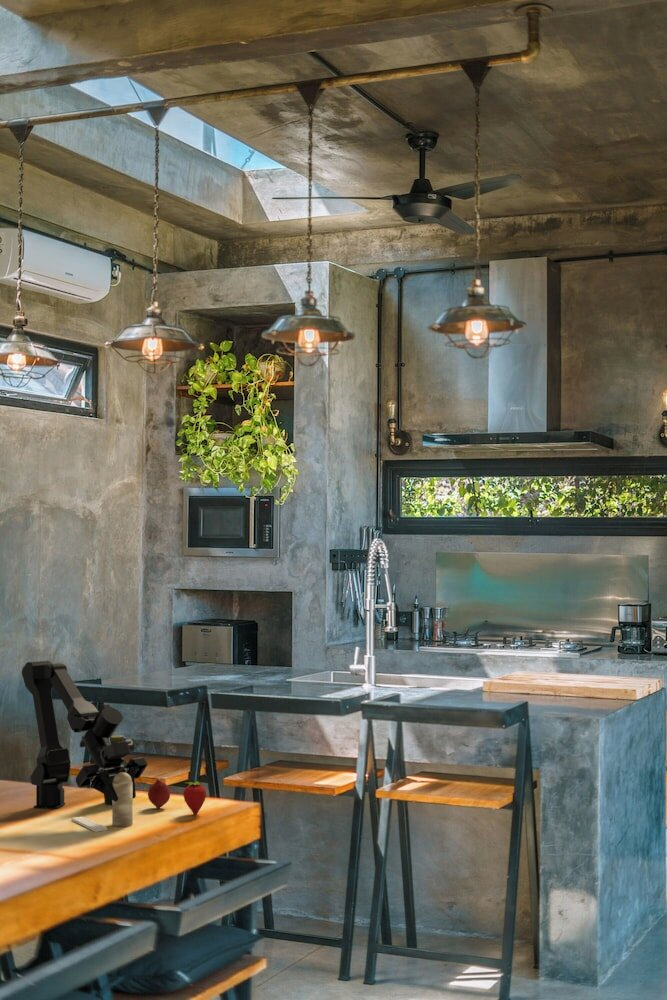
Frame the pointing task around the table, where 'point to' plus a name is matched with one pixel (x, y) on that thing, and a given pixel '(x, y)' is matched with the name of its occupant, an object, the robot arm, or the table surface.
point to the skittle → (122, 801)
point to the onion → (159, 793)
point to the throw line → (89, 824)
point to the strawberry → (194, 796)
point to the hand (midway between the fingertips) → (125, 798)
